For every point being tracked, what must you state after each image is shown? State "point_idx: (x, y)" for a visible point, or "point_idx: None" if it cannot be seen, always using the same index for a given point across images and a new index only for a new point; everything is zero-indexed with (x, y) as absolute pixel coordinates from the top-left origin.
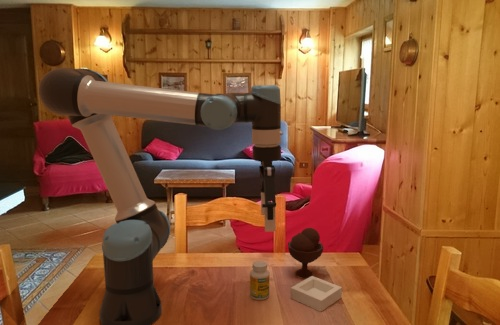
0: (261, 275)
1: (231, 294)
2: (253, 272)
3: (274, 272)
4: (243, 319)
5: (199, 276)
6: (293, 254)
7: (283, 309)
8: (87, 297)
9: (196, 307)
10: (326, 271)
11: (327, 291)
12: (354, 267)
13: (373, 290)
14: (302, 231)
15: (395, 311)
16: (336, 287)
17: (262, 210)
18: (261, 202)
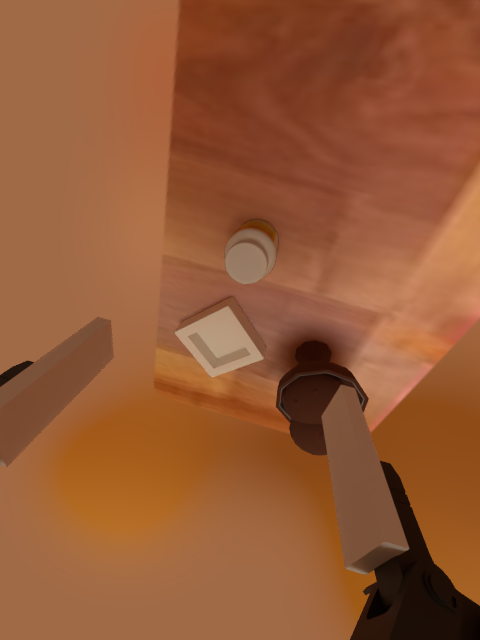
0: (225, 254)
1: (284, 171)
2: (242, 237)
3: (348, 308)
4: (171, 174)
5: (448, 70)
6: (307, 364)
7: (196, 268)
8: None
9: (244, 33)
10: None
11: (226, 356)
12: None
13: (226, 407)
14: None
15: (172, 398)
16: (212, 371)
17: (343, 408)
18: (358, 453)
